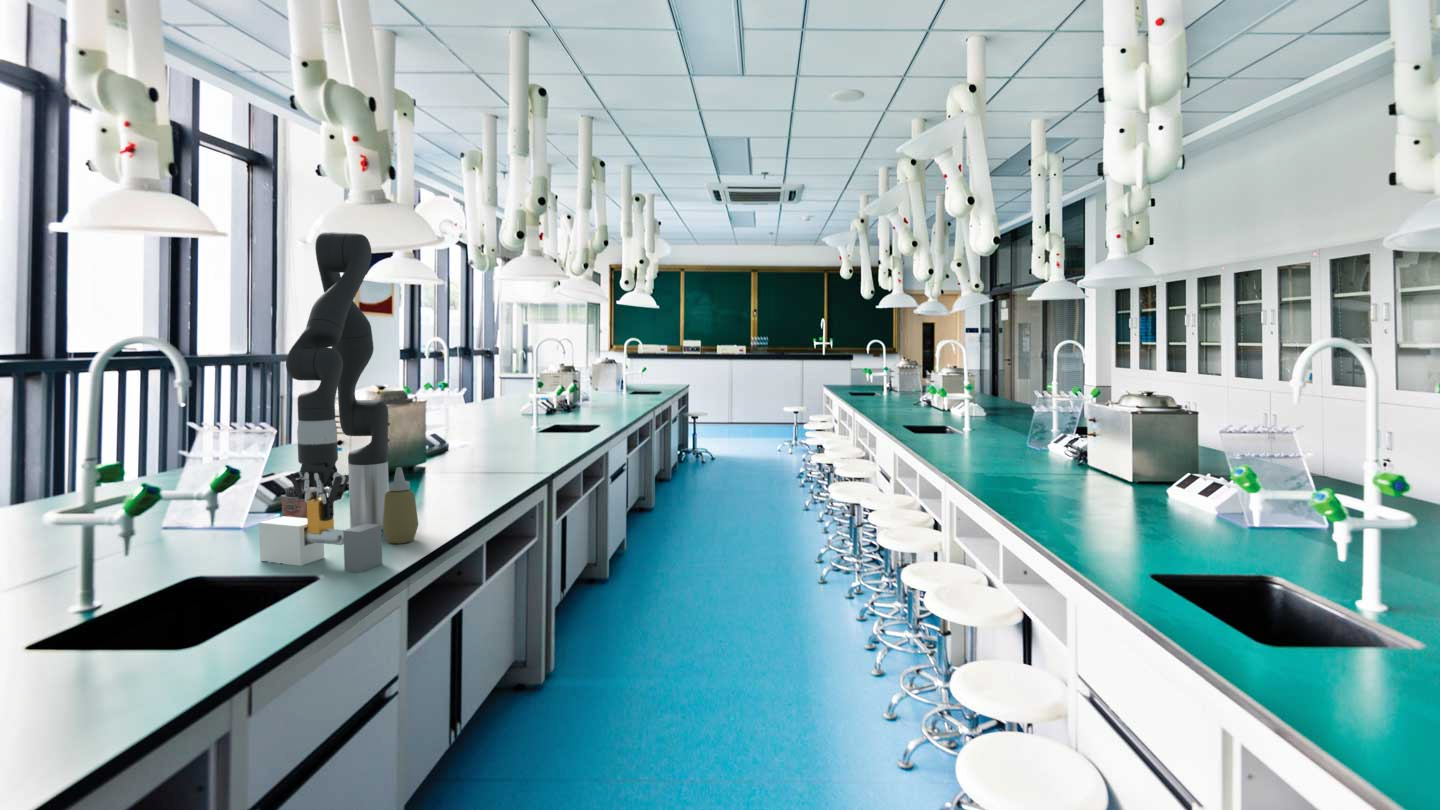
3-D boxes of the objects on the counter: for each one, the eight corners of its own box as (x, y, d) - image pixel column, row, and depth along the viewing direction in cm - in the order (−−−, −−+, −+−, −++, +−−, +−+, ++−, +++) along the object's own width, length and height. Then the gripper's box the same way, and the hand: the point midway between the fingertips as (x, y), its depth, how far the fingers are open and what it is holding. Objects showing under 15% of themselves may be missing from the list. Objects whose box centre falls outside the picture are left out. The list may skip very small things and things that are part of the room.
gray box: (344, 570, 155) (343, 530, 154) (367, 562, 161) (365, 523, 160) (360, 572, 154) (359, 532, 153) (382, 563, 160) (381, 524, 159)
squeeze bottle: (408, 535, 184) (406, 463, 183) (425, 540, 179) (423, 467, 178) (376, 541, 178) (374, 467, 176) (392, 547, 173) (390, 471, 171)
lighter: (278, 524, 194) (276, 486, 193) (289, 521, 197) (287, 484, 197) (302, 526, 192) (300, 488, 191) (313, 523, 195) (311, 486, 194)
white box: (260, 561, 161) (258, 522, 160) (284, 553, 167) (283, 516, 166) (300, 565, 158) (299, 526, 157) (324, 557, 164) (323, 519, 163)
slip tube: (268, 540, 161) (266, 497, 161) (283, 536, 165) (282, 493, 165) (334, 547, 157) (333, 502, 156) (349, 542, 160) (347, 499, 160)
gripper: (357, 439, 160) (360, 518, 161) (305, 437, 164) (308, 513, 165) (330, 444, 153) (333, 526, 154) (276, 441, 157) (280, 521, 158)
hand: (320, 519), depth 160 cm, fingers closed on slip tube, 3 cm apart
